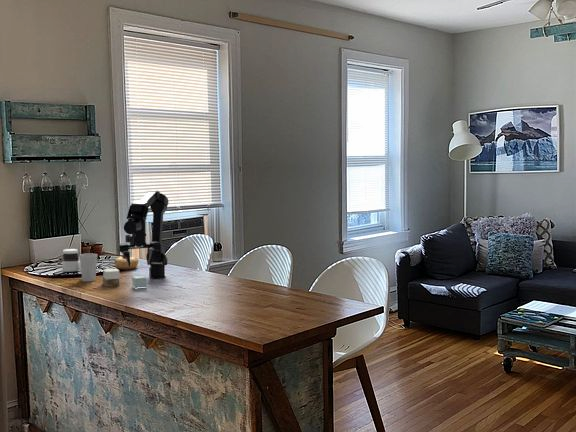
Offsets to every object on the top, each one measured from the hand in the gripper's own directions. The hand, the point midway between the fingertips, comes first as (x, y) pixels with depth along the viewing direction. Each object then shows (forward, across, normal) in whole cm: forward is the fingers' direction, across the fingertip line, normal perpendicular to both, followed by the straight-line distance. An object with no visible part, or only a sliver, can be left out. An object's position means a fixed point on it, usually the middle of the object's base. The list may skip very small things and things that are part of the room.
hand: (139, 265), depth 278 cm
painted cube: (+10, 0, 0) cm, 10 cm away
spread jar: (+10, +20, -43) cm, 49 cm away
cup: (+10, +17, -25) cm, 32 cm away
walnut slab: (+10, +10, -11) cm, 18 cm away
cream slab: (+7, +10, -11) cm, 16 cm away
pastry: (+11, -6, -45) cm, 47 cm away
